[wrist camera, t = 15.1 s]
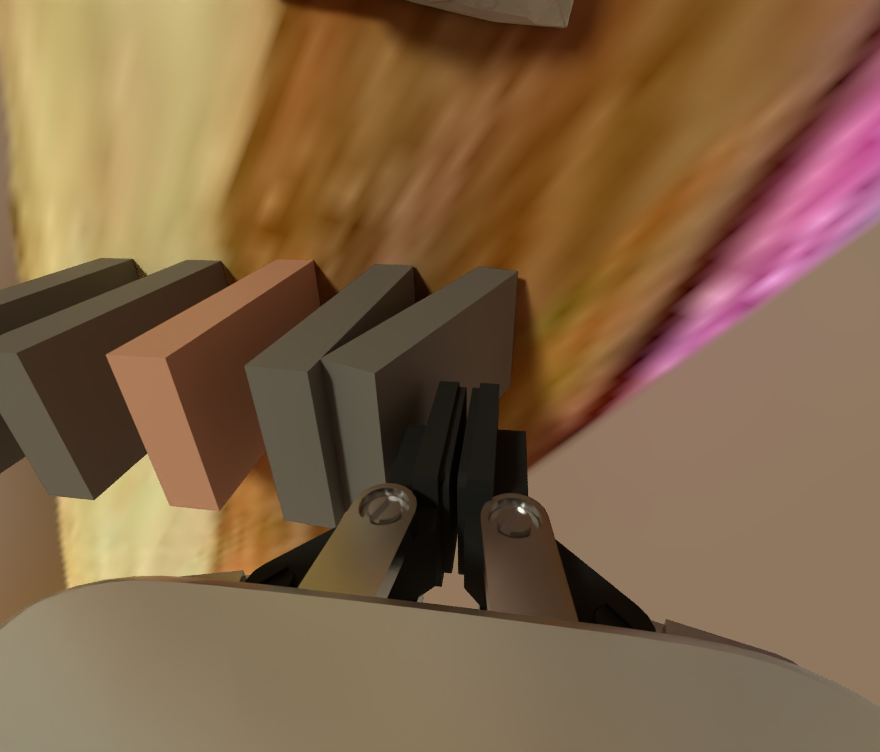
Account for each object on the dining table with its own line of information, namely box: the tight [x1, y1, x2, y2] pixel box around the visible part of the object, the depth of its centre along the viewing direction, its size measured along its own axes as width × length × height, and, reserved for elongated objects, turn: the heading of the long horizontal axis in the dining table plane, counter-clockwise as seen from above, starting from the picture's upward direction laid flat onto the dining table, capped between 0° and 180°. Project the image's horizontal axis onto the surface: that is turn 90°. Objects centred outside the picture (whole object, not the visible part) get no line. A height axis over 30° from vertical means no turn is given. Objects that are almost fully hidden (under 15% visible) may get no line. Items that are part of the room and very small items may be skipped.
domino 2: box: [0, 260, 227, 500], centre depth 16 cm, size 2×5×9 cm, turn 1°
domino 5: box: [320, 267, 518, 512], centre depth 15 cm, size 2×5×9 cm, turn 1°
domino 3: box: [106, 259, 321, 511], centre depth 16 cm, size 2×5×9 cm, turn 1°
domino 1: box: [0, 258, 139, 473], centre depth 17 cm, size 2×5×9 cm, turn 1°
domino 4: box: [244, 264, 415, 528], centre depth 15 cm, size 2×5×9 cm, turn 1°
